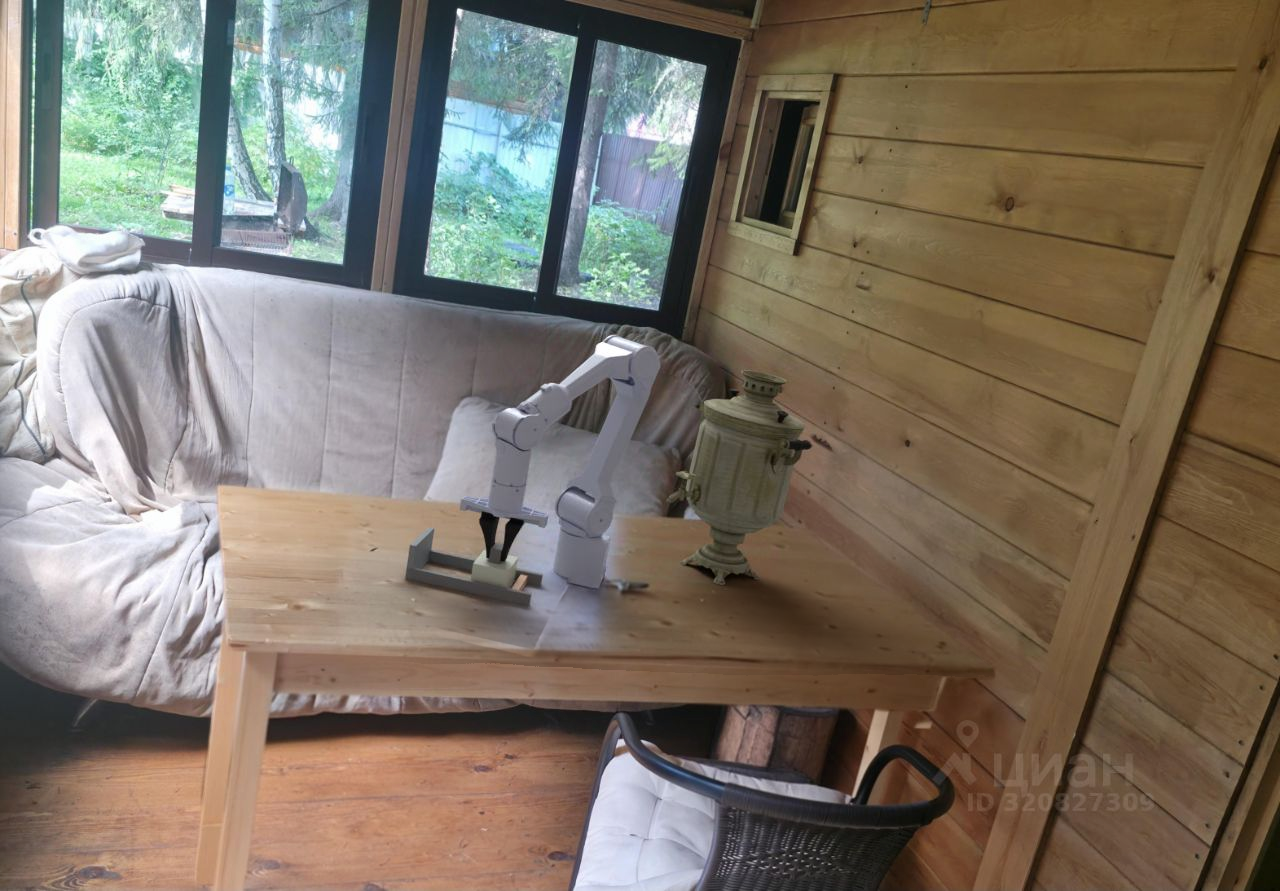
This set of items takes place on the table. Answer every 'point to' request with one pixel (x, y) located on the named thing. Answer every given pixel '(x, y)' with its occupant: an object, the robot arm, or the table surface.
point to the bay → (423, 553)
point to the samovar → (740, 470)
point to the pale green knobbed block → (495, 568)
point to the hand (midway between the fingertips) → (496, 558)
